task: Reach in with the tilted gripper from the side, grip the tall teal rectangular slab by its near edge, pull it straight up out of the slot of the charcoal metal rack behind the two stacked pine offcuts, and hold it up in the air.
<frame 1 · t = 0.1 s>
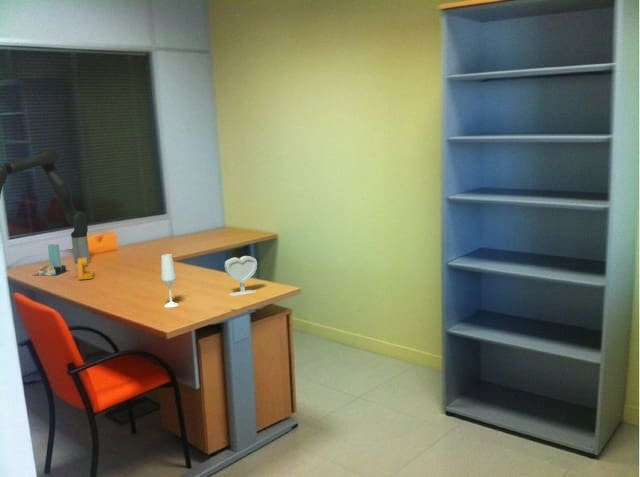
offcut top: (46, 270, 356), point 4 cm above the table, touching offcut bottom
champagne flute: (171, 305, 288), on the table
rack: (53, 274, 362), on the table
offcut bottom: (47, 274, 357), point 1 cm above the table, touching offcut top, rack
bracket: (87, 278, 349), on the table
heart sculpture: (242, 293, 303), on the table
teal rectangular slab: (56, 271, 365), point 1 cm above the table, touching rack
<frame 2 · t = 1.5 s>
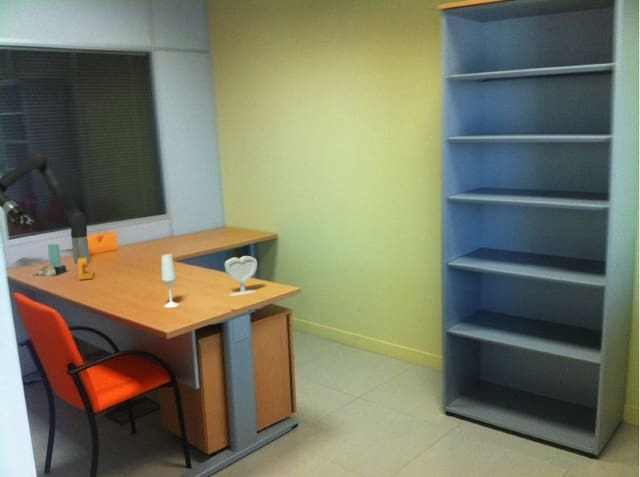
hand: (32, 229, 363), 27 cm above the table, tool tilted 45°, fingers open, 8 cm apart
nothing on the table moved.
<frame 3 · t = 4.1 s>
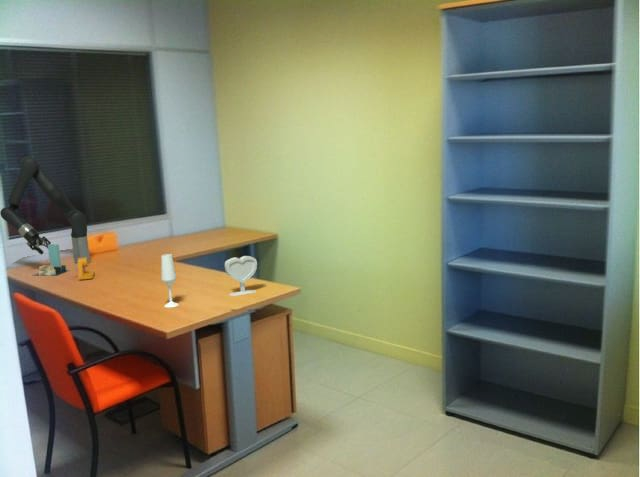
hand: (47, 251, 363), 13 cm above the table, tool tilted 45°, fingers open, 8 cm apart
nothing on the table moved.
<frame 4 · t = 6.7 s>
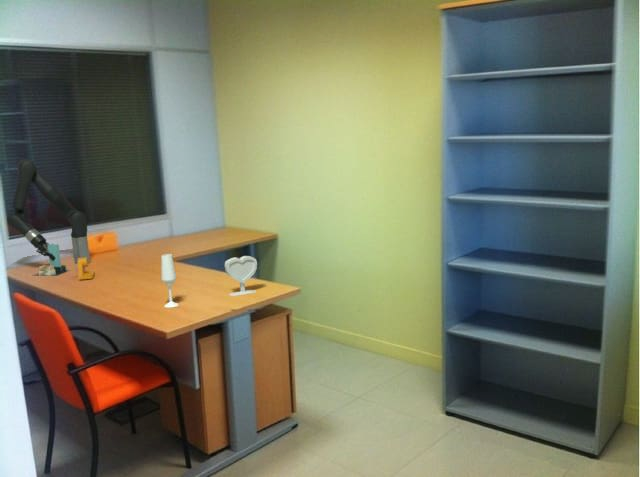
hand: (55, 258, 363), 9 cm above the table, tool tilted 45°, fingers closed on teal rectangular slab, 2 cm apart
teal rectangular slab: (56, 271, 365), point 1 cm above the table, touching gripper, rack
everything else where it was.
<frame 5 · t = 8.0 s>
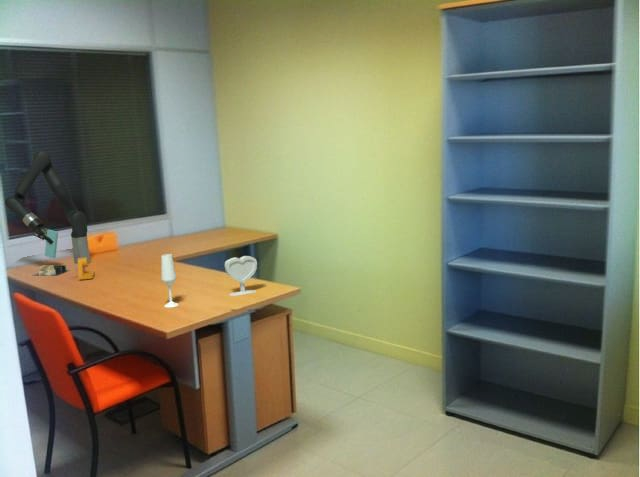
hand: (53, 242, 361), 18 cm above the table, tool tilted 45°, fingers closed on teal rectangular slab
teal rectangular slab: (50, 256, 364), point 10 cm above the table, tilted 15°, touching gripper
everything else where it was.
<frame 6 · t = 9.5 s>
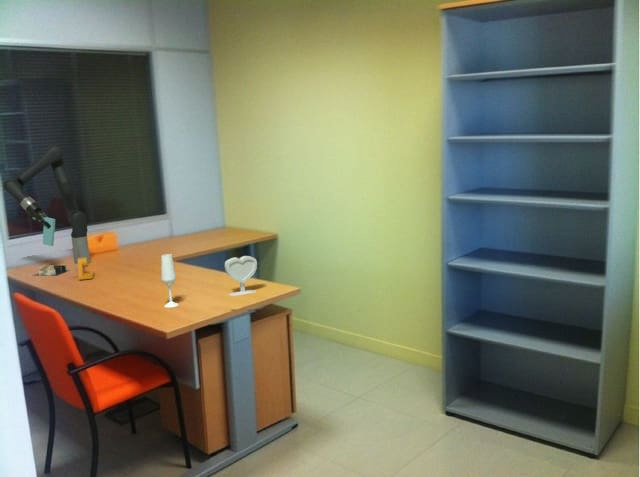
hand: (51, 226, 359), 28 cm above the table, tool tilted 45°, fingers closed on teal rectangular slab
teal rectangular slab: (48, 244, 362), point 17 cm above the table, tilted 13°, touching gripper
everything else where it was.
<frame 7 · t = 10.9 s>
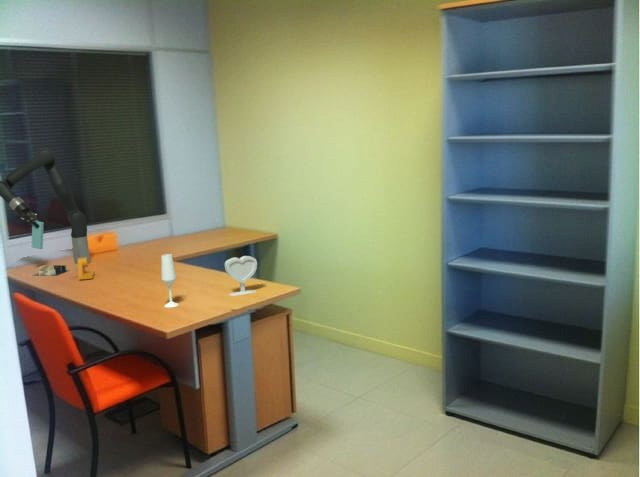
hand: (39, 226, 361), 28 cm above the table, tool tilted 45°, fingers closed on teal rectangular slab
teal rectangular slab: (37, 247, 365), point 15 cm above the table, tilted 11°, touching gripper
everything else where it was.
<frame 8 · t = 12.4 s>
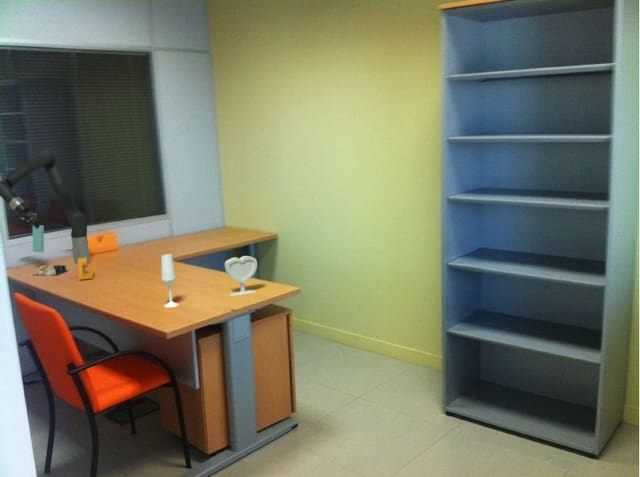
hand: (39, 226, 361), 28 cm above the table, tool tilted 45°, fingers closed on teal rectangular slab
teal rectangular slab: (38, 251, 365), point 13 cm above the table, tilted 9°, touching gripper
everything else where it was.
at the end: the gripper is holding teal rectangular slab; teal rectangular slab point 12.9 cm above the table; offcut top moved 0.0 cm from its start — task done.
